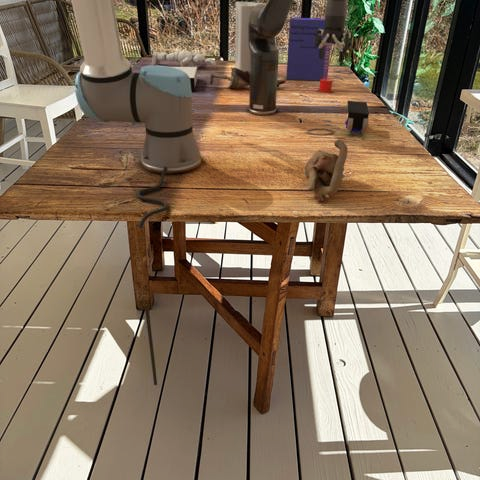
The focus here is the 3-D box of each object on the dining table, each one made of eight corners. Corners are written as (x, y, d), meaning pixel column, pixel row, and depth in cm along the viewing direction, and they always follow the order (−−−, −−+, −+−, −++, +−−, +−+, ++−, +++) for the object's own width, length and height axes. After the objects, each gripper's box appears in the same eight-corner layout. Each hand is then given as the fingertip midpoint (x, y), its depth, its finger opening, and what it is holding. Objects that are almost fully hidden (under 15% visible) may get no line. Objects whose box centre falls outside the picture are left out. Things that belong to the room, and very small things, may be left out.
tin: (332, 90, 191) (334, 79, 189) (329, 93, 187) (330, 81, 185) (321, 89, 193) (322, 77, 190) (317, 91, 189) (318, 80, 187)
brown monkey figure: (321, 192, 118) (322, 208, 103) (296, 168, 117) (293, 181, 103) (359, 155, 113) (365, 166, 99) (333, 130, 112) (335, 137, 98)
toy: (171, 74, 211) (170, 58, 208) (148, 64, 229) (146, 49, 225) (218, 68, 223) (218, 53, 219) (192, 59, 240) (192, 44, 237)
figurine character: (367, 142, 142) (363, 122, 154) (371, 118, 138) (367, 99, 149) (344, 141, 143) (342, 120, 155) (348, 117, 138) (346, 98, 150)
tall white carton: (273, 76, 210) (276, 6, 196) (239, 77, 209) (240, 6, 194) (266, 67, 226) (268, 2, 212) (235, 67, 225) (235, 1, 210)
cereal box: (326, 78, 209) (332, 18, 196) (327, 80, 205) (333, 19, 192) (286, 77, 210) (290, 17, 197) (286, 79, 206) (290, 18, 193)
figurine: (210, 87, 179) (288, 95, 182) (212, 65, 176) (291, 73, 180) (208, 84, 201) (278, 91, 205) (210, 64, 198) (280, 71, 202)
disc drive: (149, 91, 185) (148, 77, 183) (156, 78, 205) (156, 65, 202) (194, 91, 186) (194, 78, 183) (197, 78, 205) (197, 66, 203)
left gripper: (165, -90, 121) (170, 3, 132) (147, -84, 141) (153, -4, 152) (135, -91, 119) (143, 4, 129) (121, -85, 139) (129, -3, 150)
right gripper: (358, 14, 172) (352, 61, 180) (324, 11, 180) (320, 56, 188) (347, 16, 167) (342, 64, 175) (313, 13, 175) (310, 59, 184)
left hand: (148, 0), depth 141 cm, fingers open, 13 cm apart
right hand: (331, 60), depth 182 cm, fingers open, 8 cm apart
